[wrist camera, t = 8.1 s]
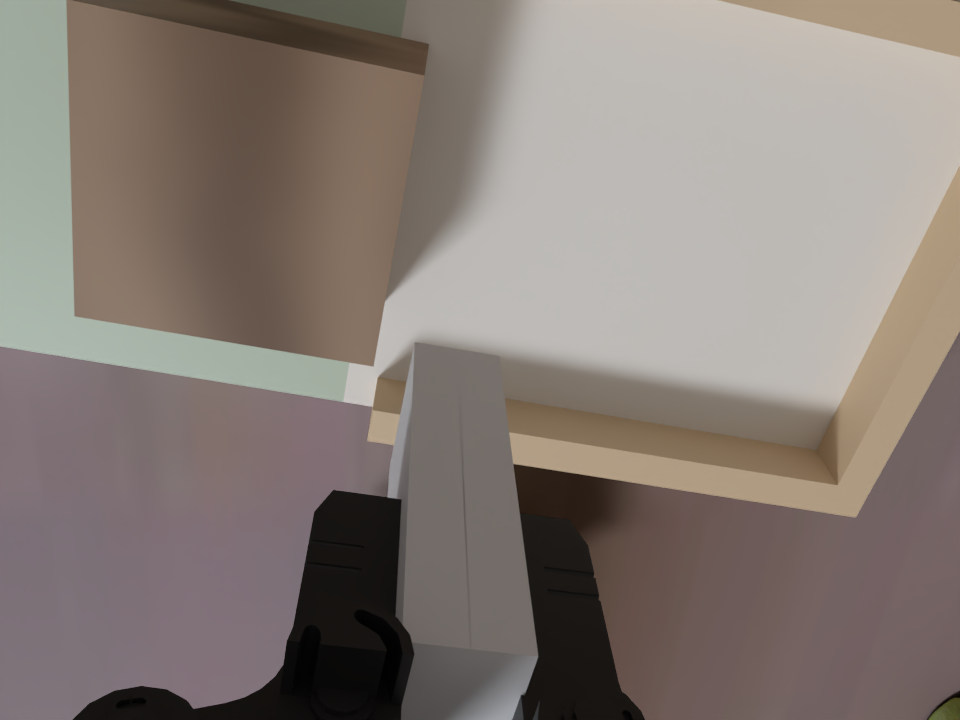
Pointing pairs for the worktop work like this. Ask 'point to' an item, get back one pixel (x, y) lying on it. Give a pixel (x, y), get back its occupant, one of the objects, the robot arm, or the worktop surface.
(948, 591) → the worktop surface
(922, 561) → the worktop surface
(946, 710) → the plant pot
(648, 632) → the worktop surface
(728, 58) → the deck
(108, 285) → the walnut block
